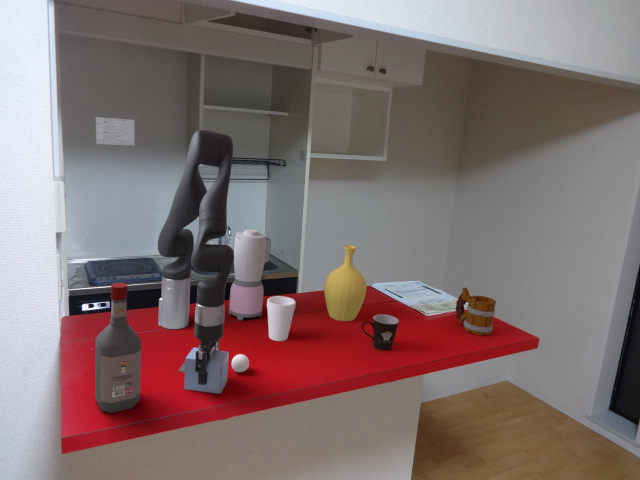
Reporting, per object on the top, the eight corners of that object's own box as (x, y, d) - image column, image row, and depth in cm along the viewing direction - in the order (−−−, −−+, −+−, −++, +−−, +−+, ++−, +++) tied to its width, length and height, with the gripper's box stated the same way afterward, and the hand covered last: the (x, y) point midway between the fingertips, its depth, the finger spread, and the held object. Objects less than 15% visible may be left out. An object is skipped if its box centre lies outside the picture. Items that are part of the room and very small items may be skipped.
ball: (229, 374, 141) (230, 357, 140) (233, 366, 146) (234, 350, 145) (246, 376, 141) (247, 360, 140) (250, 368, 146) (251, 352, 145)
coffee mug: (397, 344, 173) (400, 317, 171) (392, 354, 165) (396, 326, 163) (364, 337, 176) (368, 310, 174) (358, 346, 168) (361, 318, 166)
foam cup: (287, 344, 164) (291, 307, 161) (260, 340, 166) (263, 303, 163) (294, 334, 173) (298, 298, 170) (269, 329, 175) (272, 294, 172)
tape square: (178, 371, 140) (178, 370, 140) (188, 357, 149) (188, 356, 149) (209, 375, 139) (209, 374, 139) (218, 361, 148) (218, 360, 148)
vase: (369, 316, 197) (378, 248, 191) (350, 327, 184) (358, 254, 178) (335, 305, 206) (342, 239, 200) (313, 315, 192) (320, 245, 186)
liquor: (142, 406, 121) (145, 289, 115) (102, 416, 116) (102, 293, 110) (131, 389, 128) (134, 277, 122) (93, 397, 123) (93, 281, 117)
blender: (241, 323, 178) (247, 235, 171) (221, 312, 186) (227, 228, 179) (275, 314, 189) (282, 232, 182) (255, 304, 197) (261, 225, 191)
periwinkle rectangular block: (184, 389, 131) (185, 358, 129) (192, 377, 138) (193, 347, 136) (220, 393, 131) (222, 362, 129) (227, 381, 137) (228, 351, 135)
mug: (483, 338, 187) (489, 300, 183) (446, 323, 198) (452, 287, 195) (497, 333, 194) (504, 296, 191) (461, 318, 206) (467, 284, 202)
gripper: (203, 308, 137) (200, 363, 141) (186, 327, 123) (183, 389, 127) (230, 311, 137) (227, 367, 140) (216, 331, 123) (212, 392, 126)
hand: (206, 377), depth 134 cm, fingers closed on periwinkle rectangular block, 6 cm apart
